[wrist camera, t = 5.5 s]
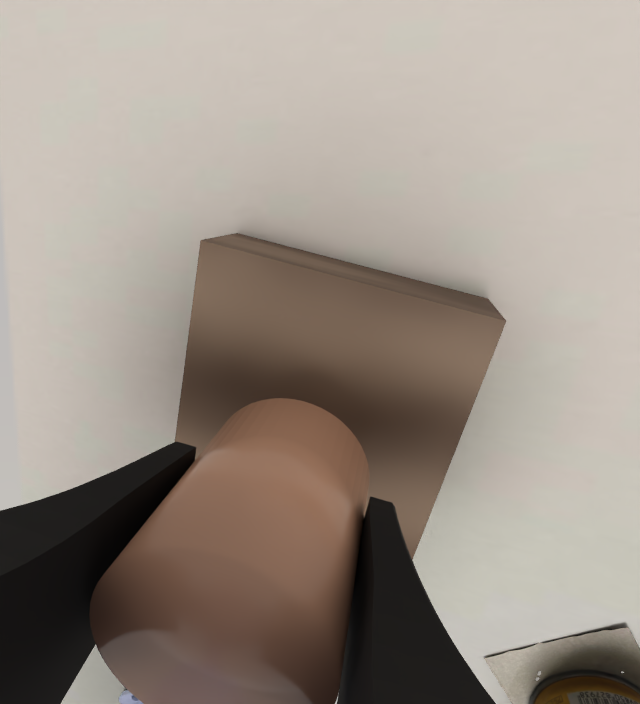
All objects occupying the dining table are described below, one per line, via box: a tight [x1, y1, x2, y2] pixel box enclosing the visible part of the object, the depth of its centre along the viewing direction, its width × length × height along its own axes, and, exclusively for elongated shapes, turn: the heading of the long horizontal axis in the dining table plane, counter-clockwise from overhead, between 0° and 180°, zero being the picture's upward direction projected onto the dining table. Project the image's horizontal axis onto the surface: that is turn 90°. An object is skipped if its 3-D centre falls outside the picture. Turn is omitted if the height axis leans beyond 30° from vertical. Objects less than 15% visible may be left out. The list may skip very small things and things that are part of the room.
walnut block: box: [175, 233, 506, 559], centre depth 19 cm, size 11×11×4 cm
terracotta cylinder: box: [89, 398, 369, 704], centre depth 11 cm, size 5×5×6 cm
